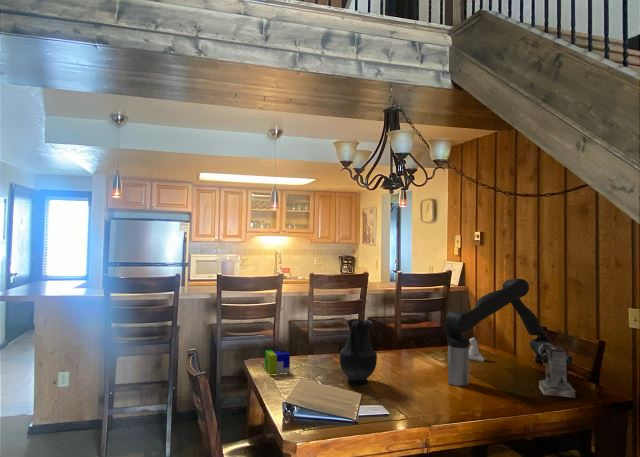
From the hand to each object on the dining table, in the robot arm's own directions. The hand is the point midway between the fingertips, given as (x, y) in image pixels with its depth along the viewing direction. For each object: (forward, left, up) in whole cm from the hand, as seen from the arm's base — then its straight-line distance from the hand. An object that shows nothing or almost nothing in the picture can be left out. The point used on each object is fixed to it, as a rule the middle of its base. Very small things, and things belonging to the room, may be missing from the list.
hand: (556, 361), depth 188 cm
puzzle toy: (-128, -8, -14) cm, 129 cm away
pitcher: (-86, -13, -14) cm, 88 cm away
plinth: (0, +1, -13) cm, 14 cm away
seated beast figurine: (-31, +46, -14) cm, 57 cm away
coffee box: (0, +1, -10) cm, 10 cm away
